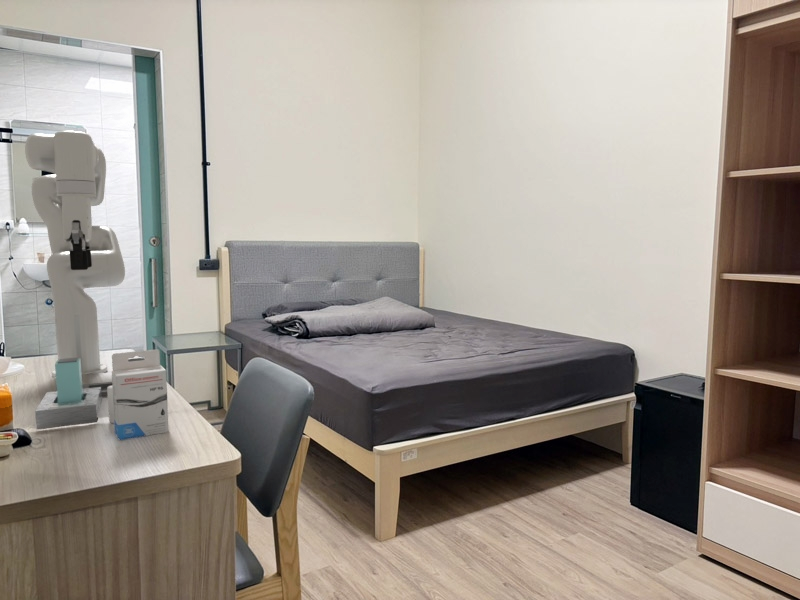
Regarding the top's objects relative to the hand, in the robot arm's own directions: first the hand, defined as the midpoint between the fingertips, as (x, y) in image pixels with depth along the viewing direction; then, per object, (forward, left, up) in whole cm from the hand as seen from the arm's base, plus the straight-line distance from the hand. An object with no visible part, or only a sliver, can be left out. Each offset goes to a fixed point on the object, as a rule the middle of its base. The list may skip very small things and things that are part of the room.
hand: (81, 268), depth 129 cm
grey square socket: (+4, +3, -28) cm, 29 cm away
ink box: (+34, +11, -28) cm, 46 cm away
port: (+17, -2, -28) cm, 33 cm away
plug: (+17, -2, -27) cm, 32 cm away
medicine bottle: (+26, +10, -28) cm, 40 cm away
